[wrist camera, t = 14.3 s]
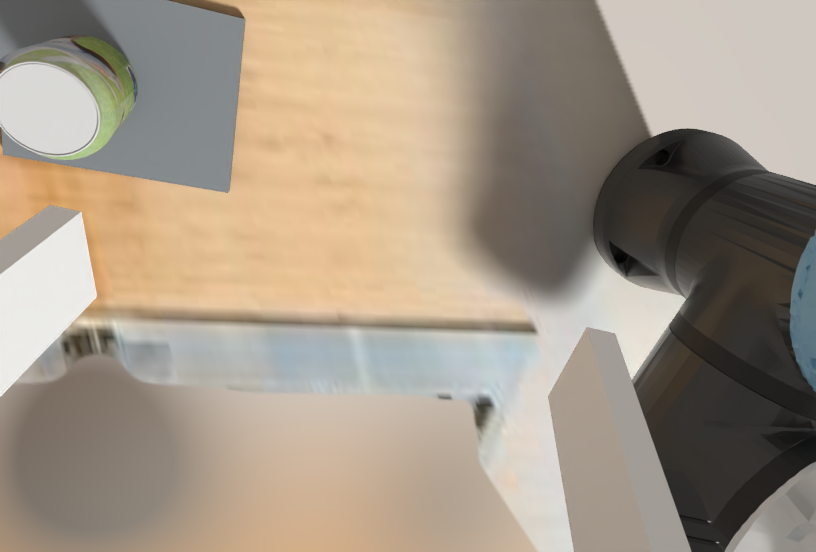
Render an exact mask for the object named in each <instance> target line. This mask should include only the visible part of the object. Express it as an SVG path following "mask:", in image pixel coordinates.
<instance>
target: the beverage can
mask: <svg viewBox="0 0 816 552" xmlns="http://www.w3.org/2000/svg"><path fill="white" fill-rule="evenodd" d="M137 95H138V84H137V79H136V76H135V73H134V71H133V69H132V67H131V65H130V64H129V62H128V61H127V60H126V58H125V57H124V56H123V55H122V54H121V53H120V52H119V51H118V50H117V49H116V48H114V47H113V46H111V45H110V44H108V43H106V42H104V41H102V40H100V39H98V38H95V37H92V36H86V35H69V36H64V37H60V38H57V39H53V40H49V41H46V42H42V43H39V44H35V45H31V46H28V47H24V48H21V49H18V50H15V51H13V52H11V53H9V54H7V55H6V56H4V57H3V58H2V59H1V60H0V127H1V129H2V130H3V131H4V132H5V133H6V134H7V135H8V136H9V137H10V138H11V139H12V140H13V141H15V142H16V143H17V144H19V145H20V146H21V147H23V148H25V149H27V150H29V151H30V152H33V153H35V154H38V155H40V156H43V157H47V158H51V159H59V160H74V159H79V158H84V157H86V156H89V155H91V154H93V153H95V152H97V151H98V150H100V149H101V148H102V147H103V146H104V145H105V144H106V143H107V142H108V141H109V140H110V138H111V137H112V136H113V134H114V133H115V132H116V130H117V129H118V128H119V126H120V125H121V124H122V123H123V121H124V120H125V119H126V117H127V116H128V115H129V113H130V112H131V110H132V109H133V107H134V106H135V103H136V100H137Z"/></svg>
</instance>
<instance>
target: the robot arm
mask: <svg viewBox="0 0 816 552" xmlns="http://www.w3.org/2000/svg"><path fill="white" fill-rule="evenodd" d="M594 236H595V241H596V245H597V247H598V250H599V252H600V254H601V256H602V257H603V259H604V260H605V262H606V263H607V264H608V265H609V266H610V267H611V268H612V269H613V270H615V271H616V272H617V273H619V274H620V275H621V276H622V277H624V278H625V279H627V280H628V281H630V282H632V283H634V284H636V285H639V286H641V287H645V288H649V289H654V290H658V291H663V292H668V293H672V294H677V295H682V296H683V297H685V298H686V301H685V302H684V304H683V305H682V306H681V308H680V310H679V311H678V313H677V314H676V316H675V317H674V319H673V320H672V322H671V323H670V324H669V325H668V327H667V328H666V330H665V331H664V333H663V334H662V336H661V337H660V339H659V340H658V342H657V343H656V345H655V346H654V348H653V349H652V351H651V352H650V354H649V355H648V357H647V358H646V360H645V361H644V362H643V364H642V365H641V367H640V368H639V370H638V371H637V373H636V374H635V376H634V377H633V379H632V380H631V378H630V375H629V372H628V369H627V366H626V364H625V361H624V358H623V355H622V352H621V349H620V346H619V344H618V341H617V338H616V335H615V334H614V333H610V332H606V331H601V330H597V329H593V328H588V327H587V328H586V330H585V331H584V333H583V335H582V337H581V339H580V340H579V342H578V344H577V346H576V348H575V349H574V351H573V353H572V355H571V356H570V358H569V360H568V362H567V364H566V365H565V367H564V369H563V371H562V373H561V374H560V376H559V378H558V380H557V382H556V383H555V385H554V387H553V389H552V390H551V392H550V394H549V396H548V398H549V404H550V410H551V416H552V422H553V428H554V434H555V440H556V446H557V452H558V458H559V464H560V470H561V476H562V482H563V488H564V494H565V500H566V506H567V512H568V518H569V524H570V530H571V536H572V542H573V548H574V552H816V185H813V184H810V183H806V182H803V181H800V180H796V179H793V178H790V177H786V176H783V175H779V174H776V173H772V172H769V171H767V170H766V169H765V168H764V167H763V166H762V165H761V164H759V162H757V161H756V160H755V159H754V158H753V157H752V156H751V155H750V154H749V153H747V152H746V151H745V150H744V149H743V148H742V147H741V146H740V145H738V144H737V143H735V142H734V141H732V140H730V139H728V138H727V137H724V136H722V135H718V134H715V133H711V132H707V131H703V130H698V129H678V130H672V131H668V132H664V133H661V134H659V135H657V136H654V137H652V138H650V139H648V140H646V141H645V142H643V143H641V144H640V145H638V146H637V147H636V148H634V149H633V150H632V151H631V152H629V153H628V154H627V155H626V156H625V157H624V158H623V159H622V160H621V161H620V162H619V163H618V165H617V166H616V167H615V168H614V170H613V171H612V172H611V174H610V175H609V177H608V179H607V180H606V182H605V184H604V186H603V188H602V190H601V192H600V195H599V198H598V201H597V204H596V208H595V213H594ZM96 297H97V294H96V288H95V283H94V278H93V272H92V267H91V262H90V256H89V251H88V246H87V241H86V235H85V230H84V225H83V219H82V214H81V212H79V211H75V210H70V209H66V208H62V207H57V206H53V205H49V206H48V207H46V208H45V209H44V210H42V211H41V212H39V213H38V214H36V215H35V216H34V217H32V218H31V219H29V220H28V221H26V222H25V223H24V224H22V225H21V226H19V227H18V228H16V229H15V230H14V231H12V232H11V233H9V234H8V235H6V236H5V237H3V238H2V239H1V240H0V397H1V396H2V395H3V394H4V392H5V391H6V390H7V389H8V388H9V387H10V386H11V385H12V384H13V383H14V382H15V381H16V380H17V379H18V378H19V377H20V376H21V375H22V374H23V373H24V372H25V371H26V370H27V369H28V368H29V367H30V366H31V365H32V364H33V362H34V361H35V360H36V359H37V358H38V357H39V356H40V355H41V354H42V353H43V352H44V351H45V350H46V349H47V348H48V347H49V346H50V345H51V344H52V343H53V342H54V341H55V340H56V339H57V338H58V337H59V336H60V335H61V333H62V332H63V331H64V330H65V329H66V328H67V327H68V326H69V325H70V324H71V323H72V322H73V321H74V320H75V319H76V318H77V317H78V316H79V315H80V314H81V313H82V312H83V311H84V310H85V309H86V308H87V307H88V306H89V305H90V303H91V302H92V301H93V300H94V299H95V298H96Z"/></svg>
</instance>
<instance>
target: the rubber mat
mask: <svg viewBox="0 0 816 552" xmlns="http://www.w3.org/2000/svg"><path fill="white" fill-rule="evenodd" d="M244 29H245V19H242V18H238V17H234V16H230V15H226V14H222V13H218V12H214V11H210V10H206V9H202V8H197V7H193V6H189V5H185V4H181V3H177V2H173V1H169V0H0V60H1V59H2V58H3V57H4V56H6V55H7V54H9V53H11V52H13V51H15V50H18V49H21V48H24V47H28V46H31V45H35V44H39V43H42V42H46V41H49V40H53V39H57V38H60V37H64V36H69V35H86V36H92V37H95V38H98V39H100V40H102V41H104V42H106V43H108V44H110V45H111V46H113V47H114V48H116V49H117V50H118V51H119V52H120V53H121V54H122V55H123V56H124V57H125V58H126V60H127V61H128V62H129V64H130V65H131V67H132V69H133V71H134V73H135V76H136V79H137V84H138V95H137V100H136V103H135V106H134V107H133V109H132V110H131V112H130V113H129V115H128V116H127V117H126V119H125V120H124V121H123V123H122V124H121V125H120V126H119V128H118V129H117V130H116V132H115V133H114V134H113V136H112V137H111V138H110V140H109V141H108V142H107V143H106V144H105V145H104V146H103V147H102V148H101V149H100V150H98V151H97V152H95V153H93V154H91V155H89V156H86V157H84V158H79V159H74V160H59V159H51V158H47V157H43V156H40V155H38V154H35V153H33V152H30V151H29V150H27V149H25V148H23V147H21V146H20V145H19V144H17V143H16V142H15V141H13V140H12V139H11V138H10V137H9V136H8V135H7V134H6V133H5V132H4V131H3V130H2V129H1V134H2V147H3V155H7V156H13V157H19V158H25V159H31V160H37V161H43V162H49V163H55V164H61V165H67V166H73V167H78V168H84V169H90V170H96V171H102V172H108V173H114V174H120V175H126V176H132V177H138V178H144V179H149V180H155V181H161V182H167V183H173V184H179V185H185V186H191V187H197V188H203V189H209V190H215V191H221V192H226V193H228V192H229V190H230V180H231V169H232V158H233V148H234V137H235V126H236V115H237V104H238V93H239V83H240V72H241V61H242V50H243V39H244Z"/></svg>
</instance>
